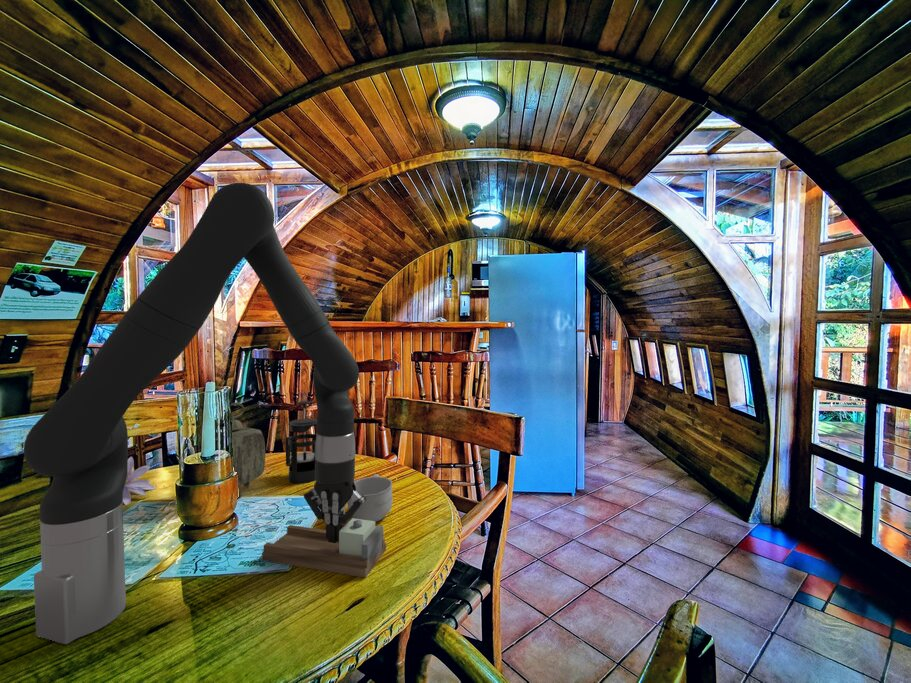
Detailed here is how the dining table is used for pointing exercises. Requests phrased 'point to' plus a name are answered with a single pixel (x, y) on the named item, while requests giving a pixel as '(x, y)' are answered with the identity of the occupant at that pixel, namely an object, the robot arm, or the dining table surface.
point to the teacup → (373, 498)
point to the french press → (301, 462)
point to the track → (324, 551)
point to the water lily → (135, 482)
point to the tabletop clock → (247, 451)
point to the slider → (354, 536)
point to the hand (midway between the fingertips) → (334, 540)
